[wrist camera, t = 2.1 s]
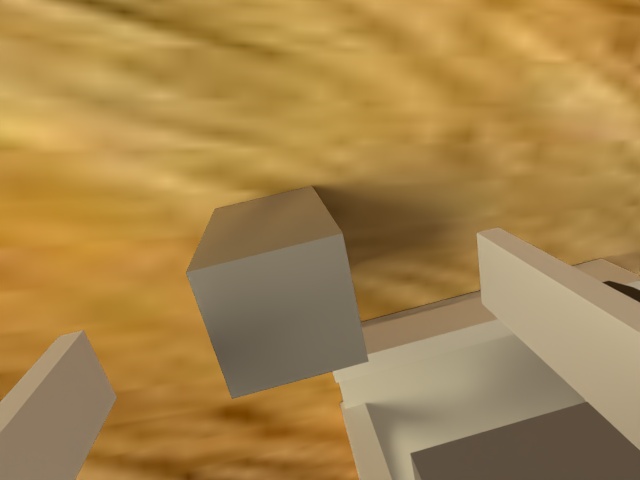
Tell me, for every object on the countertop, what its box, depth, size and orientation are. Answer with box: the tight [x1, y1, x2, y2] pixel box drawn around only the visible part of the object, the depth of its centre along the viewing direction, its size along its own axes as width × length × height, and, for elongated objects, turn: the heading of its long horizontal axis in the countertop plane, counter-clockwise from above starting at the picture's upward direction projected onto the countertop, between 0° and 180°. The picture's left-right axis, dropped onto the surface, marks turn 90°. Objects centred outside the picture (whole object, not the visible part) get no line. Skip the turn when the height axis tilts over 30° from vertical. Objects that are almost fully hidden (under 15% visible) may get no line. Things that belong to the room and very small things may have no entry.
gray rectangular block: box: [186, 186, 369, 399], centre depth 17 cm, size 5×5×8 cm
